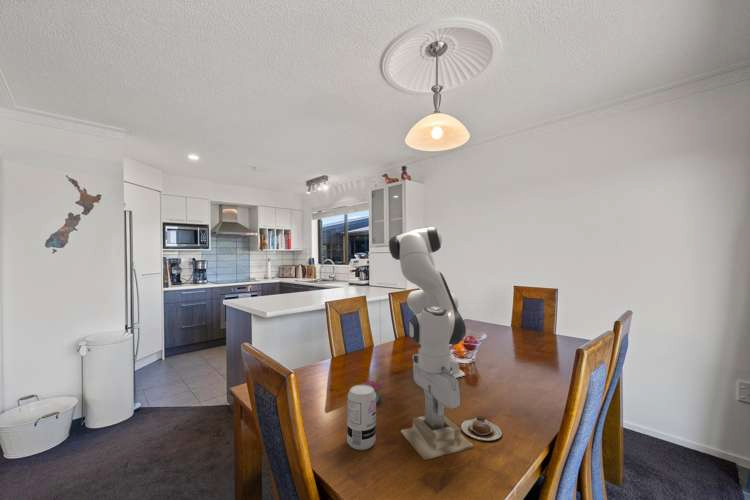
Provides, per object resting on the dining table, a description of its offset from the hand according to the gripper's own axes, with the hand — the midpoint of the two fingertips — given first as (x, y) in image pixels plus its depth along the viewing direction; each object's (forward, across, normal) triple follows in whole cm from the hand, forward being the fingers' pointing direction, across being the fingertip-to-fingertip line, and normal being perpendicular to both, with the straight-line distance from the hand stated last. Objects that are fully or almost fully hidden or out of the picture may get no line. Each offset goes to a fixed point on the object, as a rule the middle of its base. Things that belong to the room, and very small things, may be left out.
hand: (434, 410), depth 89 cm
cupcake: (+9, +30, +9) cm, 32 cm away
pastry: (+9, -1, -16) cm, 18 cm away
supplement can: (+9, +6, +21) cm, 23 cm away
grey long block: (+5, 0, 0) cm, 5 cm away
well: (+8, 0, 0) cm, 9 cm away
